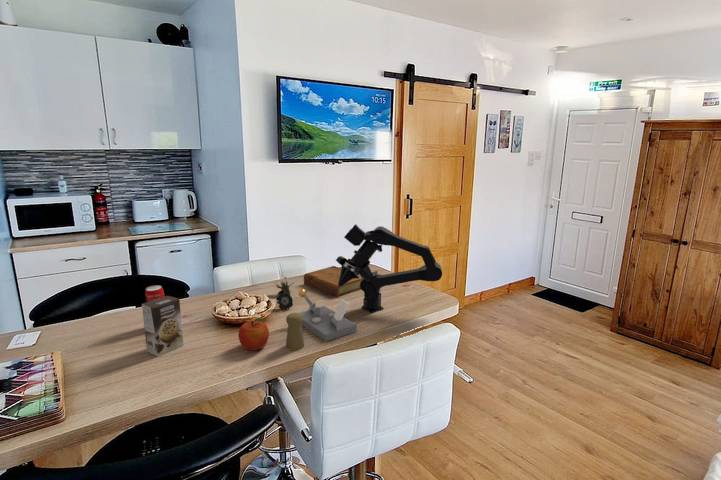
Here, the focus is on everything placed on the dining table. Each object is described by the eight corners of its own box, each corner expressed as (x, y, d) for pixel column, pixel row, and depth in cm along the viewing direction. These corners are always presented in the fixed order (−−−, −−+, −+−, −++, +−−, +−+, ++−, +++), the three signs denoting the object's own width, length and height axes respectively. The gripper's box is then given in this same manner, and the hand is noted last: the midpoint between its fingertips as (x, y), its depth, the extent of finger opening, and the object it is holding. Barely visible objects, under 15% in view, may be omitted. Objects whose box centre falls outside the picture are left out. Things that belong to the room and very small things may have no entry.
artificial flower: (273, 313, 162) (265, 289, 160) (281, 298, 184) (275, 277, 183) (294, 307, 162) (287, 283, 160) (300, 293, 184) (294, 272, 183)
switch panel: (324, 311, 160) (324, 298, 159) (356, 331, 144) (356, 316, 142) (294, 320, 152) (294, 306, 151) (325, 341, 136) (325, 326, 135)
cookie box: (158, 357, 125) (152, 308, 121) (146, 351, 128) (140, 303, 124) (184, 345, 132) (180, 298, 129) (172, 340, 136) (167, 294, 132)
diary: (303, 285, 191) (303, 274, 189) (333, 276, 204) (333, 265, 203) (337, 298, 175) (337, 285, 174) (367, 287, 188) (367, 276, 187)
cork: (300, 351, 129) (300, 319, 127) (282, 349, 131) (281, 317, 128) (307, 342, 135) (306, 311, 133) (289, 340, 136) (288, 309, 134)
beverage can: (173, 324, 147) (169, 285, 144) (157, 332, 141) (152, 291, 138) (161, 321, 149) (157, 282, 146) (145, 328, 144) (140, 288, 140)
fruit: (244, 339, 137) (242, 312, 134) (272, 340, 136) (271, 312, 134) (234, 354, 127) (232, 324, 125) (265, 355, 127) (263, 325, 125)
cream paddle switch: (334, 323, 144) (345, 300, 144) (339, 328, 140) (350, 304, 140) (329, 321, 143) (340, 298, 143) (334, 326, 139) (345, 302, 139)
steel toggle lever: (317, 307, 154) (301, 286, 150) (320, 309, 152) (304, 288, 147) (311, 312, 154) (295, 291, 149) (314, 315, 151) (298, 294, 146)
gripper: (389, 272, 154) (364, 305, 151) (364, 259, 170) (341, 289, 167) (372, 255, 148) (345, 288, 146) (347, 243, 164) (323, 274, 161)
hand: (339, 285), depth 155 cm, fingers closed
